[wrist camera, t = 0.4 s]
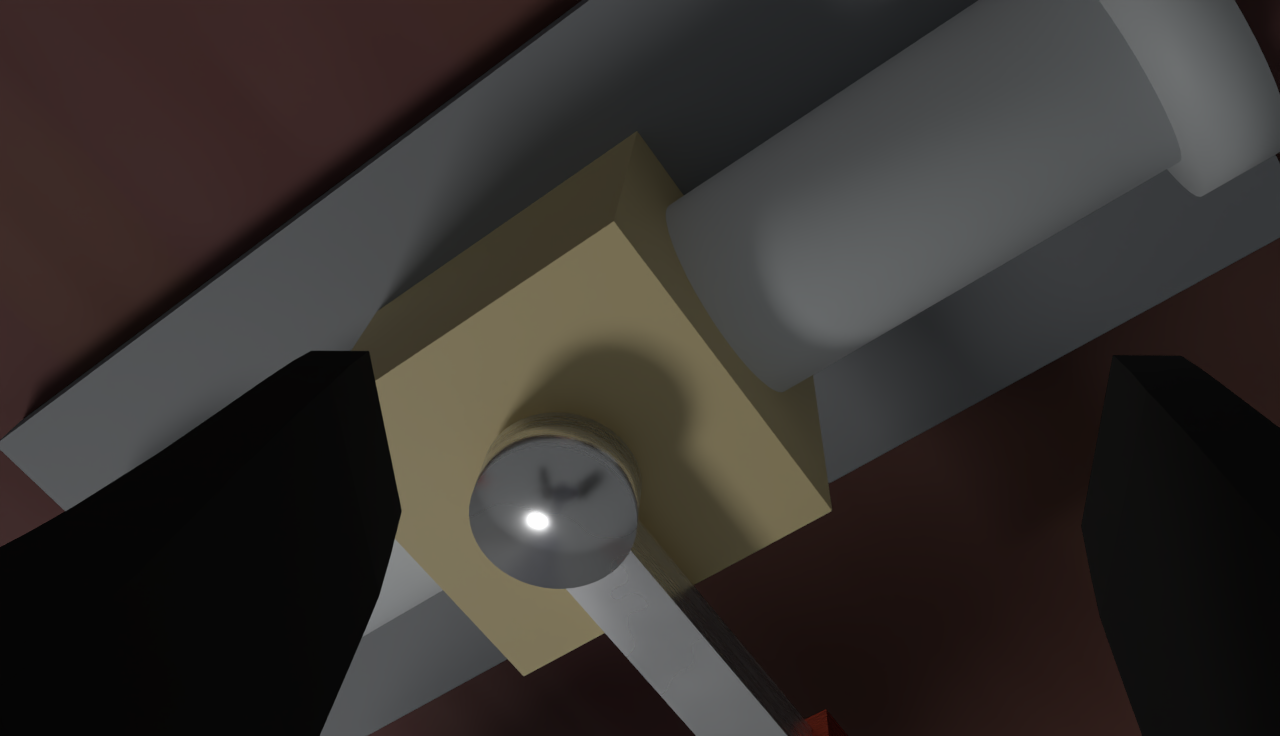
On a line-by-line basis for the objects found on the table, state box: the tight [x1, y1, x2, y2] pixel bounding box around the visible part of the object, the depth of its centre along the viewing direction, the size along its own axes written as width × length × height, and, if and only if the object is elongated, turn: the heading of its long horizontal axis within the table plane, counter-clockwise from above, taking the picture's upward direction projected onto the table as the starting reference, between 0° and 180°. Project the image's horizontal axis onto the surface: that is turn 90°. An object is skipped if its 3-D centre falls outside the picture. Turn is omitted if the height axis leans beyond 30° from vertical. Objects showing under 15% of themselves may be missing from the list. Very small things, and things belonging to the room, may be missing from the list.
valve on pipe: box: [0, 0, 1280, 736], centre depth 20 cm, size 23×10×6 cm, turn 126°
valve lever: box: [469, 412, 848, 736], centre depth 19 cm, size 12×2×1 cm, turn 36°
